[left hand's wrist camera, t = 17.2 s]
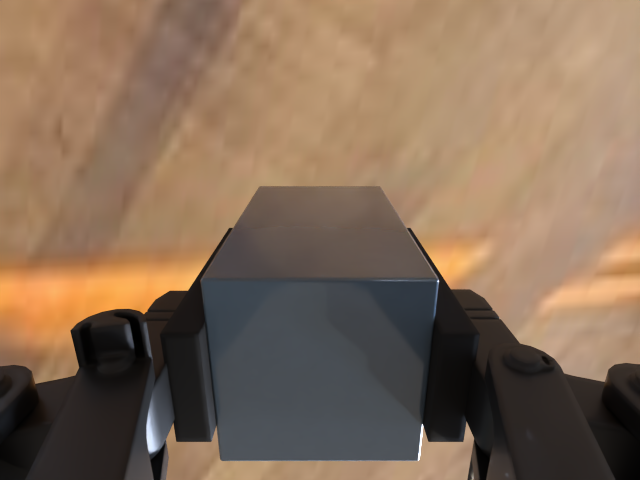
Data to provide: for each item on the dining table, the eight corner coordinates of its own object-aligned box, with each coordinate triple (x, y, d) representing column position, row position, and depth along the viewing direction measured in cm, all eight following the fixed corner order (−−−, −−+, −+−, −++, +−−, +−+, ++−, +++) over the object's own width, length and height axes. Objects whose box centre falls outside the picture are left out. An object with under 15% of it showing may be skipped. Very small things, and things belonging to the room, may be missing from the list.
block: (380, 186, 16) (440, 278, 8) (375, 296, 17) (420, 462, 10) (258, 186, 16) (198, 278, 8) (264, 296, 17) (219, 462, 10)
